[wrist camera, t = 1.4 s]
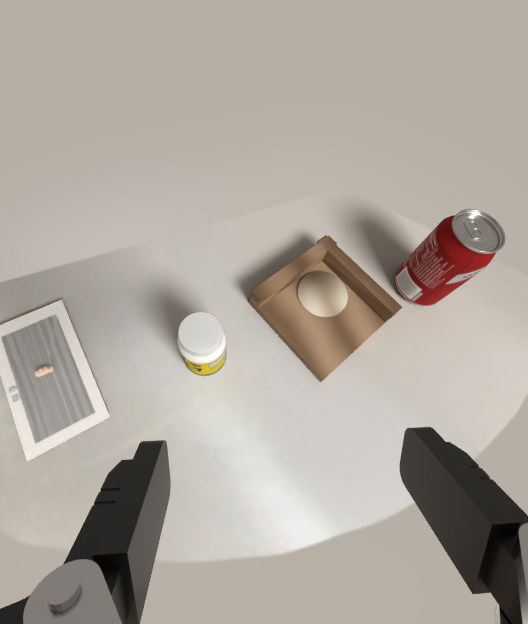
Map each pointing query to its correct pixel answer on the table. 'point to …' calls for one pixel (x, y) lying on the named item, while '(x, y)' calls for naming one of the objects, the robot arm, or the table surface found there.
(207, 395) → the table surface
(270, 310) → the wooden tray
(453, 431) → the table surface
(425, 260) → the soda can
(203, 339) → the supplement bottle
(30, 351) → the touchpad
